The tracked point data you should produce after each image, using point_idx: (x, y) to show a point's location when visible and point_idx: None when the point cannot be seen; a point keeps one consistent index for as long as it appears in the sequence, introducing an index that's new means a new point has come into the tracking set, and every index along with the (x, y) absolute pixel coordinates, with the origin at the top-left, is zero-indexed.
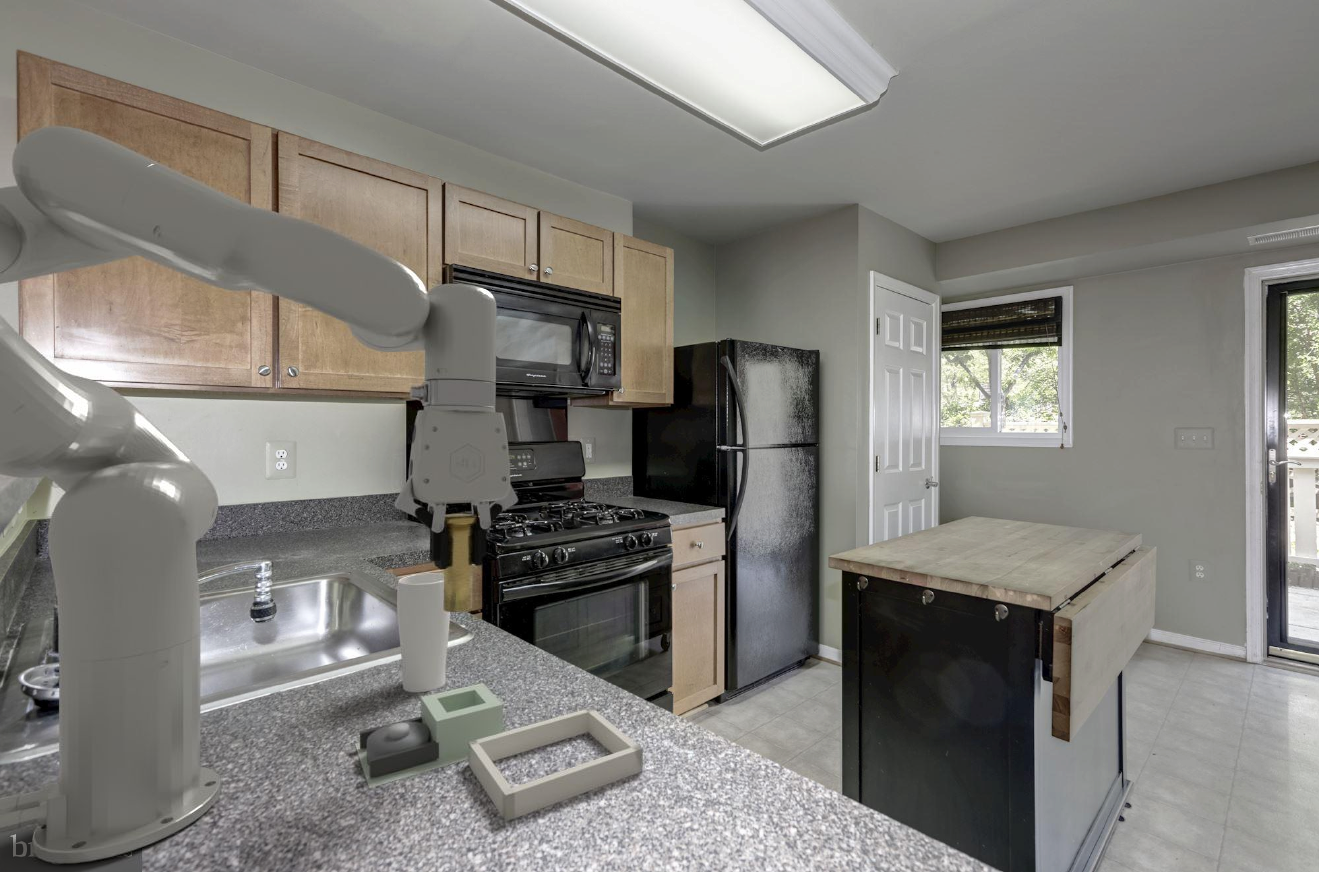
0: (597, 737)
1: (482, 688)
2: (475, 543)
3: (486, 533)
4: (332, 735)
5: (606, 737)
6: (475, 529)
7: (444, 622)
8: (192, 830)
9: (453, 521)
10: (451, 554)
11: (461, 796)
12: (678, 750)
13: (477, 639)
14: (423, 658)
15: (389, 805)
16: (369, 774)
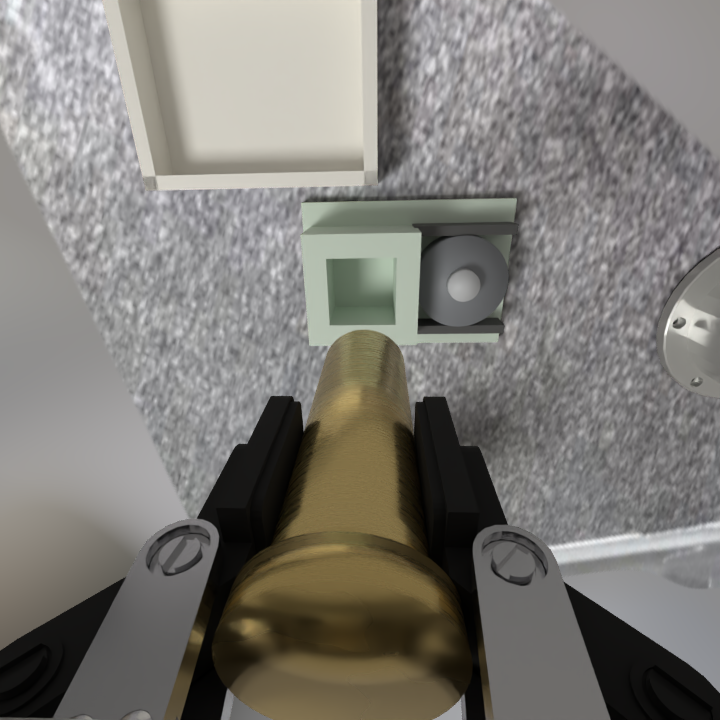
0: (163, 136)
1: (316, 322)
2: (279, 461)
3: (198, 517)
4: (506, 398)
5: (147, 94)
6: (254, 545)
7: None
8: (705, 245)
9: (413, 571)
10: (401, 442)
11: (405, 116)
12: (34, 34)
13: None
14: None
15: (497, 156)
16: (506, 238)
